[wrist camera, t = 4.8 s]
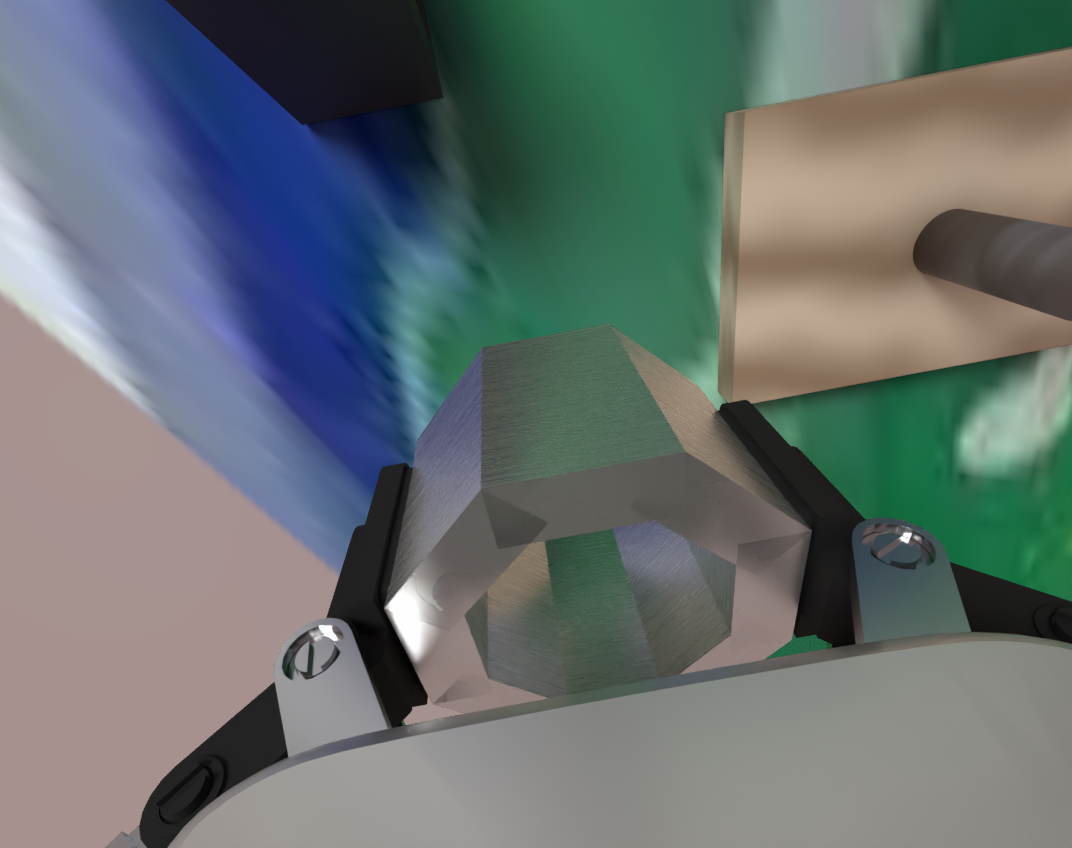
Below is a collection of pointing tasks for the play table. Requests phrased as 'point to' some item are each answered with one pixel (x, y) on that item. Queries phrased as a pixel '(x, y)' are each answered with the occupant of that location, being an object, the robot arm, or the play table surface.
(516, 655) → the steel ring
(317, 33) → the phone stand
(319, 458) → the play table surface
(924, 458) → the play table surface
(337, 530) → the play table surface
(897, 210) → the post stand
